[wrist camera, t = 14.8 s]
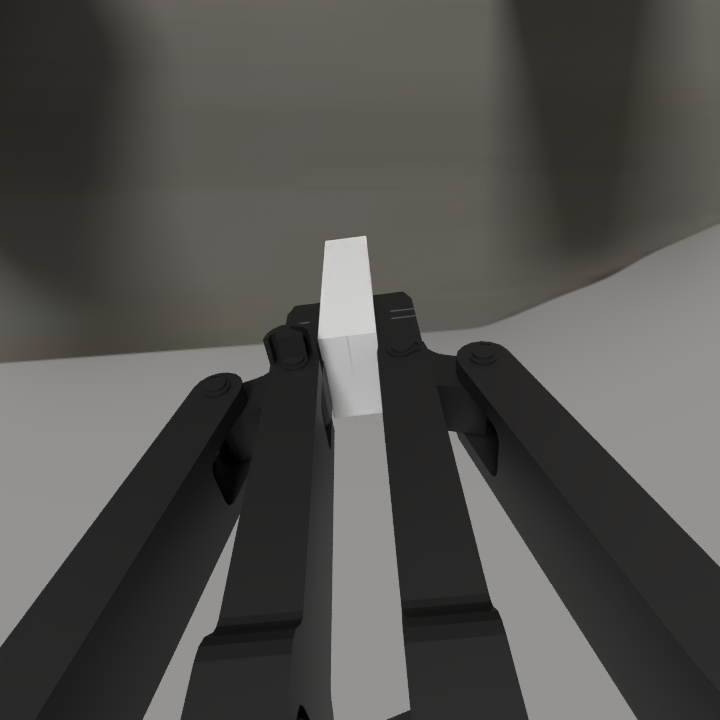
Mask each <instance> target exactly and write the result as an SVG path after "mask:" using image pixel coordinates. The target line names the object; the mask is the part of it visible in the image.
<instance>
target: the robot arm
mask: <svg viewBox="0 0 720 720" xmlns="http://www.w3.org/2000/svg"><path fill="white" fill-rule="evenodd" d="M263 341H264V345H265V348H266V352H267V355H268V359H269V362H270V370H269V373H267V374H265V375H264V376H261V377H259V378H257V379H253V380H250V381H247V382H244V383H242V380H241V377H239V376H238V375H236V374H233V373H219V374H215V375H212V376H209V377H207V378H205V379H204V380H202V381H200V382H199V383H198V384H197V385H196V386H195V387H194V388H193V390H192V391H191V392H190V394H189V395H188V396H187V398H186V399H185V400H184V402H183V403H182V404H181V406H180V407H179V408H178V410H177V411H176V412H175V414H174V415H173V416H172V418H171V419H170V421H169V422H168V423H167V424H166V426H165V427H164V428H163V430H162V431H161V433H160V434H159V435H158V437H157V438H156V439H155V441H154V442H153V443H152V445H151V446H150V447H149V449H148V450H147V451H146V453H145V454H144V455H143V457H142V458H141V459H140V461H139V462H138V463H137V465H136V466H135V468H134V469H133V470H132V472H131V473H130V474H129V476H128V477H127V478H126V479H125V481H124V482H123V484H122V485H121V486H120V487H119V489H118V490H117V492H116V493H115V494H114V496H113V497H112V498H111V500H110V501H109V502H108V504H107V505H106V506H105V508H104V509H103V511H102V512H101V513H100V514H99V516H98V517H97V519H96V520H95V521H94V522H93V524H92V525H91V527H90V528H89V529H88V530H87V532H86V533H85V534H84V536H83V537H82V539H81V540H80V541H79V543H78V544H77V545H76V547H75V548H74V549H73V551H72V552H71V553H70V555H69V556H68V557H67V559H66V560H65V561H64V563H63V564H62V565H61V567H60V568H59V569H58V571H57V572H56V573H55V575H54V576H53V578H52V579H51V580H50V581H49V583H48V584H47V585H46V587H45V588H44V590H43V591H42V592H41V594H40V595H39V596H38V598H37V599H36V600H35V602H34V603H33V604H32V606H31V607H30V608H29V610H28V611H27V612H26V614H25V615H24V616H23V618H22V619H21V620H20V622H19V623H18V624H17V626H16V627H15V628H14V630H13V631H12V633H11V634H10V635H9V636H8V638H7V639H6V640H5V642H4V643H3V644H2V646H1V647H0V720H143V717H144V715H145V713H146V711H147V709H148V707H149V705H150V703H151V700H152V698H153V696H154V694H155V692H156V690H157V688H158V686H159V684H160V682H161V679H162V677H163V675H164V673H165V671H166V669H167V667H168V665H169V662H170V660H171V658H172V656H173V654H174V652H175V650H176V648H177V645H178V644H179V641H180V639H181V637H182V635H183V633H184V631H185V629H186V627H187V624H188V622H189V620H190V618H191V616H192V614H193V612H194V610H195V608H196V605H197V603H198V601H199V599H200V597H201V595H202V593H203V591H204V589H205V586H206V584H207V582H208V580H209V578H210V576H211V574H212V572H213V570H214V568H215V565H216V563H217V561H218V559H219V557H220V555H221V553H222V551H223V548H224V546H225V544H226V542H227V540H228V538H229V536H230V534H231V532H232V529H233V527H234V525H235V523H236V521H237V519H238V517H239V515H240V517H239V522H238V527H237V532H236V537H235V542H234V547H233V552H232V557H231V562H230V567H229V571H228V576H227V581H226V586H225V591H224V596H223V601H222V606H221V611H220V615H219V620H218V623H217V627H216V629H215V630H214V632H213V633H212V634H209V635H208V636H206V637H204V639H203V640H202V642H201V644H200V645H199V647H198V650H197V653H196V657H195V660H194V663H193V668H192V672H191V676H190V681H189V685H188V689H187V694H186V698H185V703H184V707H183V711H182V715H181V720H334V718H333V709H332V701H331V683H330V682H331V679H330V678H331V620H332V555H333V493H334V490H333V489H334V427H333V422H332V410H333V414H334V418H339V417H348V416H357V415H366V414H375V413H383V422H384V432H385V443H386V452H387V463H388V473H389V484H390V494H391V503H392V513H393V525H394V535H395V545H396V555H397V565H398V576H399V586H400V597H401V607H402V624H403V635H404V647H405V657H406V667H407V678H408V688H409V699H410V709H411V710H409V711H407V712H405V713H402V714H399V715H397V716H395V717H393V718H390V719H387V720H528V716H527V712H526V708H525V704H524V700H523V696H522V693H521V689H520V686H519V682H518V678H517V674H516V670H515V666H514V662H513V659H512V655H511V651H510V647H509V643H508V640H507V636H506V632H505V629H504V626H503V622H502V619H501V617H500V615H499V612H498V611H497V609H495V608H494V607H493V605H492V603H491V600H490V596H489V593H488V589H487V585H486V581H485V577H484V573H483V569H482V565H481V561H480V557H479V553H478V549H477V545H476V541H475V537H474V533H473V529H472V525H471V521H470V517H469V513H468V509H467V505H466V501H465V497H464V493H463V489H462V485H461V482H460V477H459V473H458V470H457V466H456V462H455V458H454V454H453V450H452V446H451V442H450V438H449V434H448V431H455V432H457V435H458V438H459V440H460V441H461V443H462V445H463V446H464V448H465V449H466V451H467V452H468V454H469V456H470V457H471V459H472V460H473V462H474V463H475V465H476V467H477V468H478V470H479V471H480V473H481V474H482V476H483V477H484V479H485V481H486V482H487V483H488V485H489V487H490V488H491V490H492V492H493V493H494V495H495V496H496V498H497V499H498V501H499V502H500V504H501V506H502V507H503V509H504V510H505V512H506V514H507V515H508V517H509V518H510V520H511V521H512V523H513V524H514V526H515V528H516V529H517V531H518V532H519V534H520V535H521V537H522V539H523V540H524V542H525V543H526V545H527V546H528V548H529V550H530V551H531V553H532V554H533V556H534V557H535V559H536V561H537V562H538V564H539V565H540V567H541V569H542V570H543V571H544V573H545V575H546V576H547V578H548V580H549V581H550V583H551V584H552V585H553V587H554V589H555V590H556V592H557V594H558V595H559V597H560V598H561V600H562V601H563V603H564V605H565V606H566V608H567V609H568V611H569V612H570V614H571V616H572V617H573V619H574V620H575V622H576V623H577V625H578V627H579V628H580V630H581V631H582V633H583V634H584V636H585V638H586V639H587V641H588V642H589V644H590V645H591V647H592V648H593V650H594V652H595V653H596V655H597V656H598V658H599V660H600V661H601V663H602V664H603V666H604V667H605V669H606V671H607V672H608V674H609V675H610V677H611V678H612V680H613V682H614V683H615V685H616V686H617V687H618V689H619V691H620V692H621V694H622V696H623V697H624V699H625V700H626V702H627V703H628V705H629V707H630V708H631V710H632V711H633V713H634V714H635V716H636V717H637V719H638V720H720V567H719V566H718V565H717V564H716V563H715V562H714V561H713V560H712V559H711V558H710V557H709V556H708V554H707V553H706V552H705V551H704V550H703V549H702V548H701V547H700V546H699V545H698V544H697V543H696V542H695V541H694V540H693V539H692V538H691V537H690V536H689V535H688V534H687V533H686V532H685V531H684V530H683V529H682V528H681V527H680V526H679V525H678V524H677V523H676V522H675V521H674V520H673V519H672V518H671V517H670V516H669V515H668V514H667V512H666V511H664V509H663V508H662V507H660V505H659V504H658V503H657V502H656V501H655V500H654V499H653V498H652V497H651V496H650V495H649V494H648V493H647V492H646V491H645V490H644V489H643V488H642V487H641V486H640V485H639V484H638V483H637V482H636V481H635V480H634V479H633V478H632V477H631V476H630V475H629V474H628V473H627V472H626V471H625V470H624V469H623V467H622V466H621V465H620V464H618V462H616V460H615V459H614V458H613V457H612V456H611V455H610V454H609V453H608V452H607V451H606V450H605V449H604V448H603V447H602V446H601V445H600V444H599V443H598V442H597V441H596V440H595V439H594V438H593V437H592V436H591V435H590V434H589V433H588V432H587V431H586V430H585V429H584V428H583V427H582V426H581V425H580V423H578V421H577V420H576V419H575V418H574V417H573V416H572V415H571V414H570V413H569V412H568V411H567V410H566V409H565V408H564V407H563V406H562V405H561V404H560V403H559V402H558V401H557V400H556V399H555V398H554V397H553V396H552V395H551V394H550V393H549V392H548V391H547V390H546V389H545V388H544V387H543V386H542V385H541V384H540V383H539V382H538V381H537V379H535V377H534V376H533V375H531V373H530V372H529V371H528V370H527V369H526V368H525V367H524V366H523V365H522V364H521V363H520V362H519V361H518V360H517V359H516V358H515V357H514V356H513V355H512V354H511V353H510V352H509V351H508V350H507V349H506V348H504V347H503V346H501V345H499V344H495V343H492V342H483V341H480V342H473V343H470V344H468V345H465V346H463V347H462V348H461V349H460V350H459V351H458V353H457V356H451V355H443V354H438V353H435V352H433V351H431V350H429V349H427V347H426V345H425V344H424V342H423V341H422V339H421V335H420V331H419V327H418V323H417V319H416V316H415V311H414V307H413V303H412V299H411V298H410V297H409V296H408V295H407V294H405V293H404V292H396V293H388V294H380V295H373V291H372V283H371V275H370V266H369V258H368V249H367V241H366V236H361V237H353V238H345V239H338V240H330V241H325V252H324V264H323V277H322V290H321V303H316V304H308V305H300V306H295V307H294V308H293V309H292V311H291V312H290V313H289V314H288V316H287V322H286V325H281V326H279V327H277V328H275V329H272V330H271V331H270V332H269V333H267V334H266V336H265V337H264V339H263Z"/></svg>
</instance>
